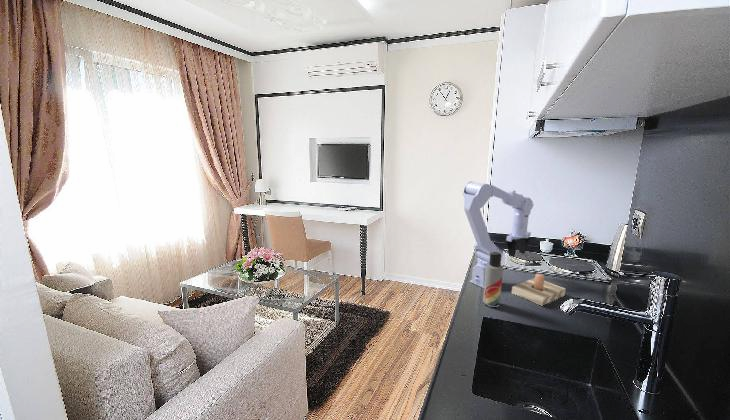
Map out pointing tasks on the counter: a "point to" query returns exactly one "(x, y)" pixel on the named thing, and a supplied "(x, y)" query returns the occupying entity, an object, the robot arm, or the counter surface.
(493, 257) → the lotion bottle
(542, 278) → the peg
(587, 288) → the counter surface
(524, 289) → the socket block
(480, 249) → the robot arm
